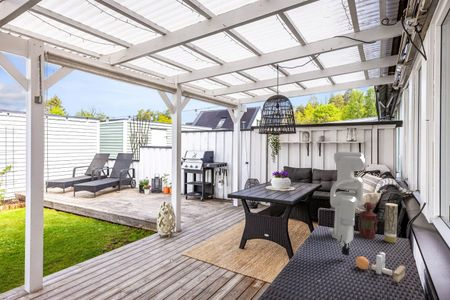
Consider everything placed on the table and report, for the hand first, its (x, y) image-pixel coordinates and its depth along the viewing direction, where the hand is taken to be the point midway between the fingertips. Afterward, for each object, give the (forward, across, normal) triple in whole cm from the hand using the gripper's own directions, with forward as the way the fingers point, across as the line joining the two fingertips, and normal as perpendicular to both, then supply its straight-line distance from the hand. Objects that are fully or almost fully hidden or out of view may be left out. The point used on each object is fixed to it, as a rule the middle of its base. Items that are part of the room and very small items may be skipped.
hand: (345, 254), depth 141 cm
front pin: (+2, +1, +14) cm, 14 cm away
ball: (0, +4, +10) cm, 11 cm away
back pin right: (+3, +3, +17) cm, 18 cm away
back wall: (+3, +1, +25) cm, 25 cm away
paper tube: (+4, -55, +7) cm, 56 cm away
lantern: (+4, -54, -7) cm, 55 cm away
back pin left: (+3, -2, +17) cm, 18 cm away
